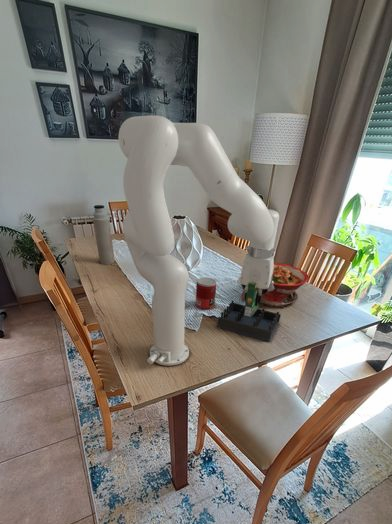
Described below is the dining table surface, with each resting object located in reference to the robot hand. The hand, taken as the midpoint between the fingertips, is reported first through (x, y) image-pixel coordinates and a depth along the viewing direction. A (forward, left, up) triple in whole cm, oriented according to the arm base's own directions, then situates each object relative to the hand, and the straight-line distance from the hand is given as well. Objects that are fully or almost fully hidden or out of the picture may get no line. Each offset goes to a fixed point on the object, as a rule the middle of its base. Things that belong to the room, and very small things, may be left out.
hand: (252, 302), depth 104 cm
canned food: (+6, +21, -10) cm, 24 cm away
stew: (+27, -2, -10) cm, 29 cm away
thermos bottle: (+25, +89, -10) cm, 93 cm away
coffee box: (0, 0, -5) cm, 5 cm away
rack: (0, 0, -10) cm, 10 cm away
